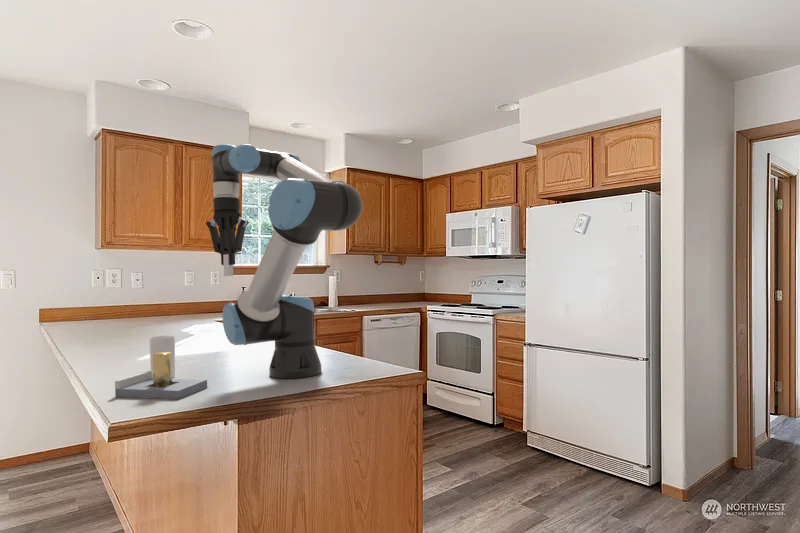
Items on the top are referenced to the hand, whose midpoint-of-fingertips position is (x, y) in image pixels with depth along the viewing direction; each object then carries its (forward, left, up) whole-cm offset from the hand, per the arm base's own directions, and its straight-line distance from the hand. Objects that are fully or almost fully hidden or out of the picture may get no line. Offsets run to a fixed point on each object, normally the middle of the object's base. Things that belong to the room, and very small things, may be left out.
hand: (228, 276), depth 154 cm
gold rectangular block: (+6, +23, -29) cm, 38 cm away
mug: (+18, +6, -30) cm, 35 cm away
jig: (+6, +23, -29) cm, 38 cm away
